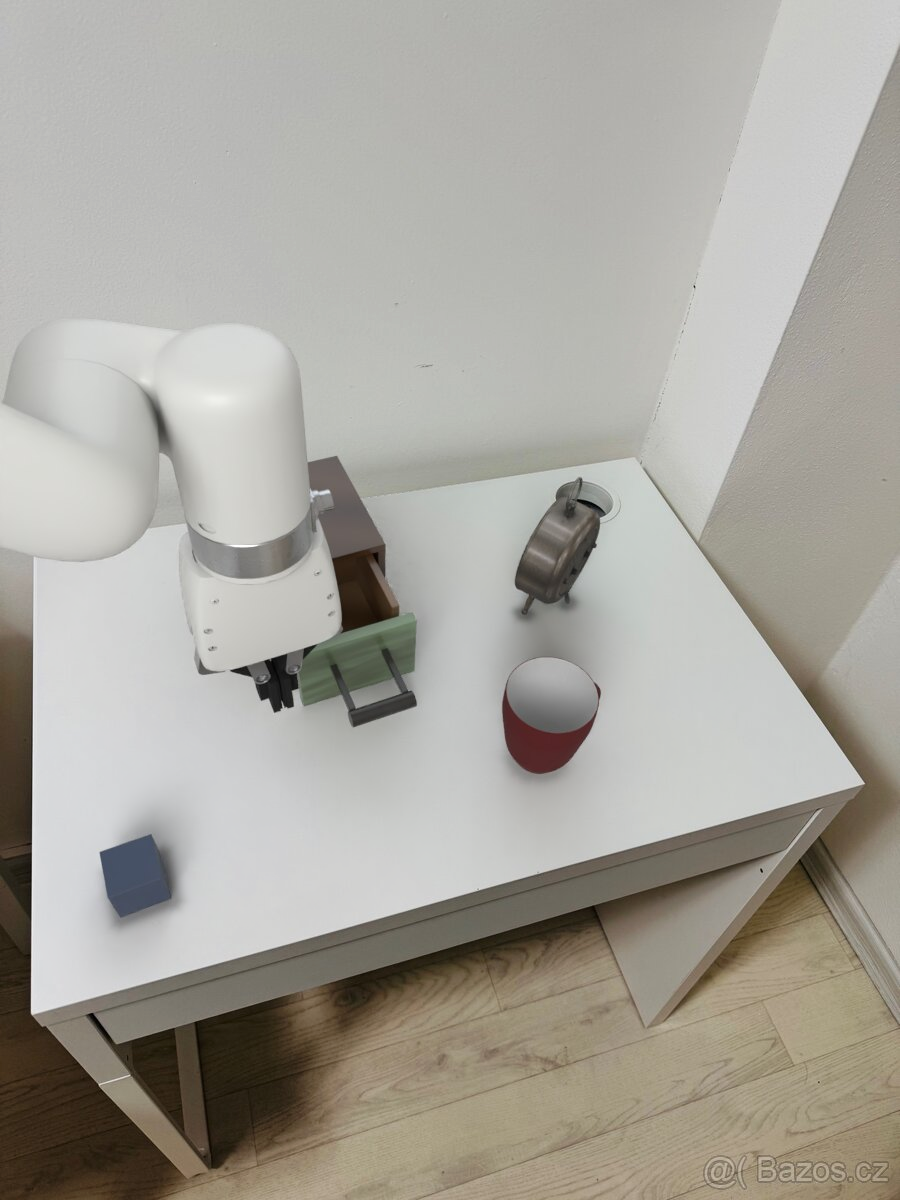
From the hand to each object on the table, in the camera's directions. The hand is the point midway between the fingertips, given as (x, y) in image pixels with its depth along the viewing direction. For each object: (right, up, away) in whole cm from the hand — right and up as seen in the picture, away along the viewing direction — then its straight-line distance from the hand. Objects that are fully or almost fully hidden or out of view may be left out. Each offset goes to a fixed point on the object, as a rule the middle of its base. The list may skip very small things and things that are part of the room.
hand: (278, 695), depth 65 cm
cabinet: (-2, +10, +26) cm, 28 cm away
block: (-12, -16, +3) cm, 20 cm away
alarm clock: (+25, +8, +27) cm, 37 cm away
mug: (+22, -7, +14) cm, 27 cm away
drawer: (+3, +1, +18) cm, 18 cm away
